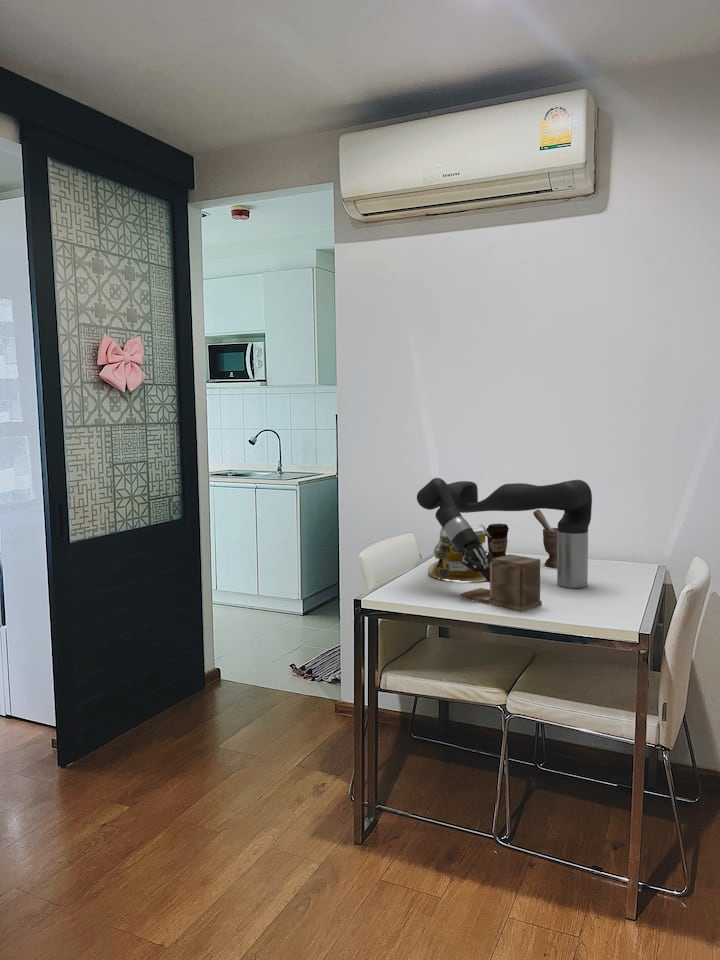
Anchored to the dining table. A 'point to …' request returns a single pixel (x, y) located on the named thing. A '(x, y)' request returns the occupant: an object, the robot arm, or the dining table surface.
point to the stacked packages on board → (455, 559)
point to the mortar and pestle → (548, 539)
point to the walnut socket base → (511, 584)
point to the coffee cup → (497, 539)
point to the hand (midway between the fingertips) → (493, 580)
